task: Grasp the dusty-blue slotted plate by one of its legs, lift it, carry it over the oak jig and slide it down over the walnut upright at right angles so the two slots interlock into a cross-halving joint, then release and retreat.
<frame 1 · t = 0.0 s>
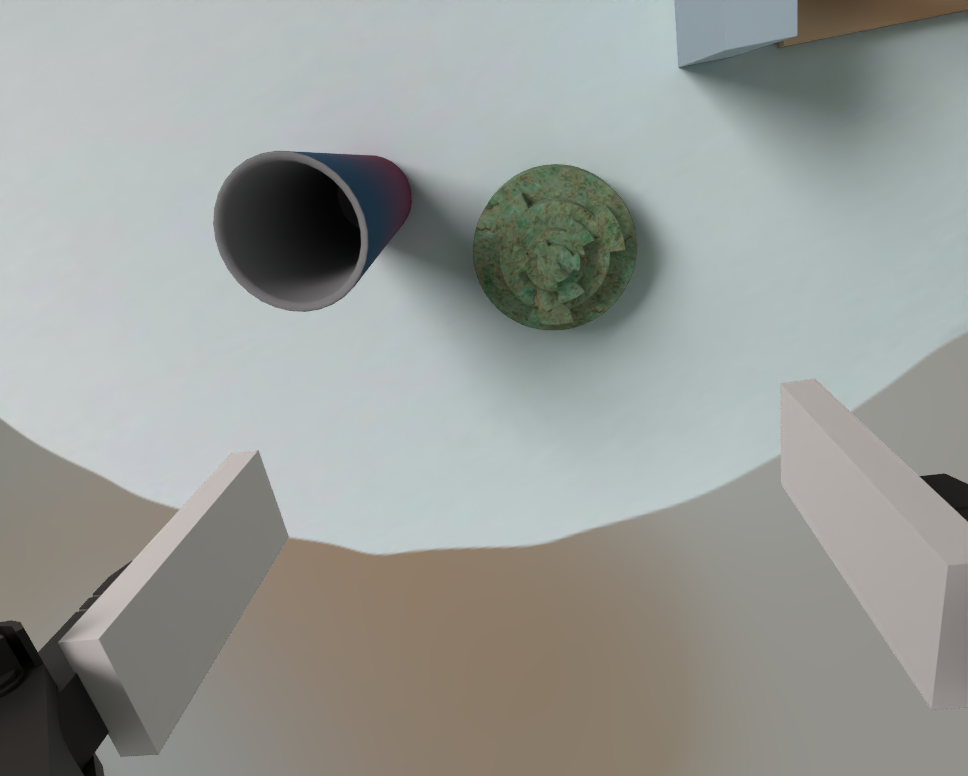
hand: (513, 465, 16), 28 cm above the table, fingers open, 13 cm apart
decorative artifact: (553, 244, 42), on the table
cup: (374, 196, 41), on the table
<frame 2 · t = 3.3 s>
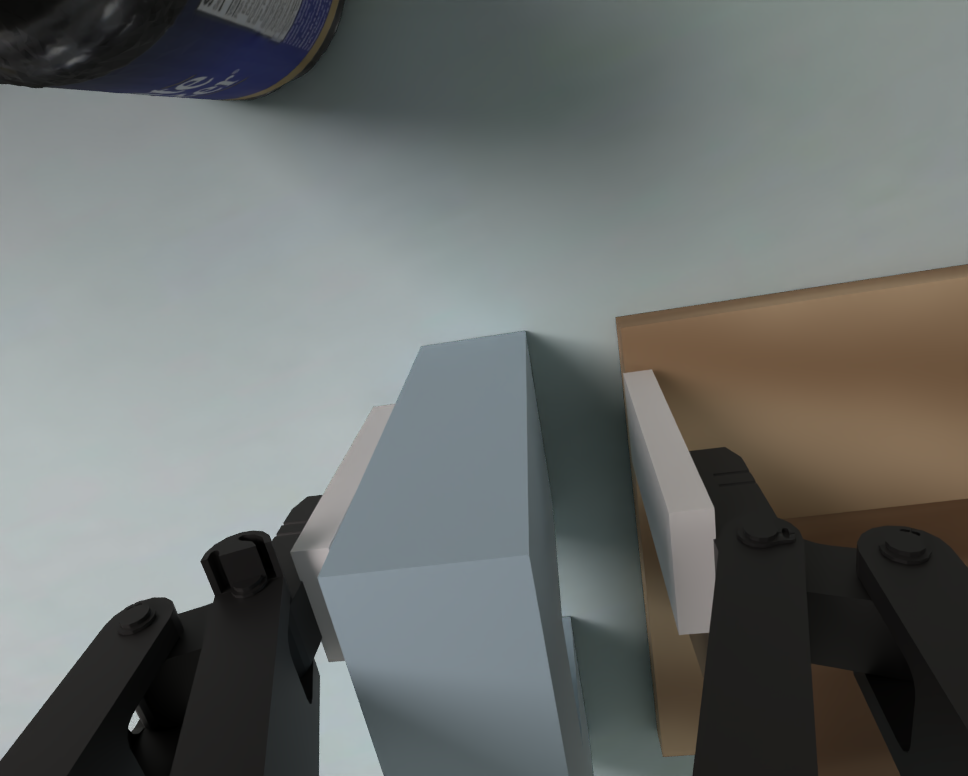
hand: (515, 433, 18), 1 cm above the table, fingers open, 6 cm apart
slotted plate: (516, 567, 21), on the table
jig: (903, 526, 20), on the table
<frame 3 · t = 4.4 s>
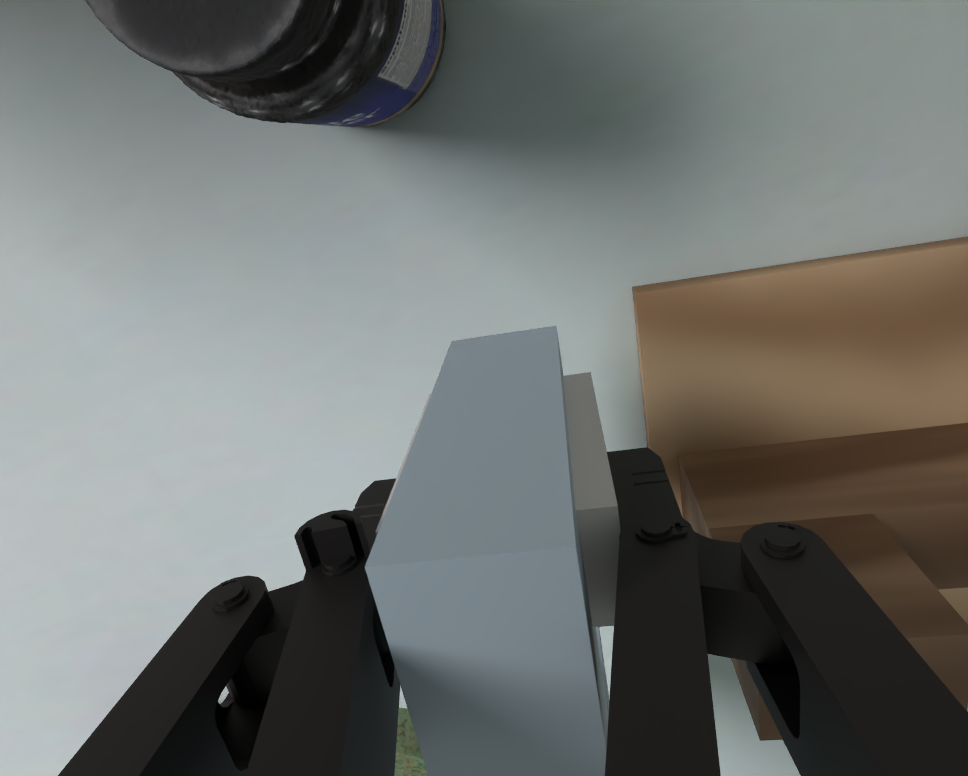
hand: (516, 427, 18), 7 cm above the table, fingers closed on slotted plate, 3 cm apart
decorative artifact: (401, 771, 34), on the table
slotted plate: (543, 562, 21), point 6 cm above the table, touching gripper
jig: (860, 456, 25), on the table
pill bottle: (359, 28, 21), on the table
when the fingers open (3 cm above the table, at t = 9.4 s): slotted plate drops 1 cm, resting on jig.
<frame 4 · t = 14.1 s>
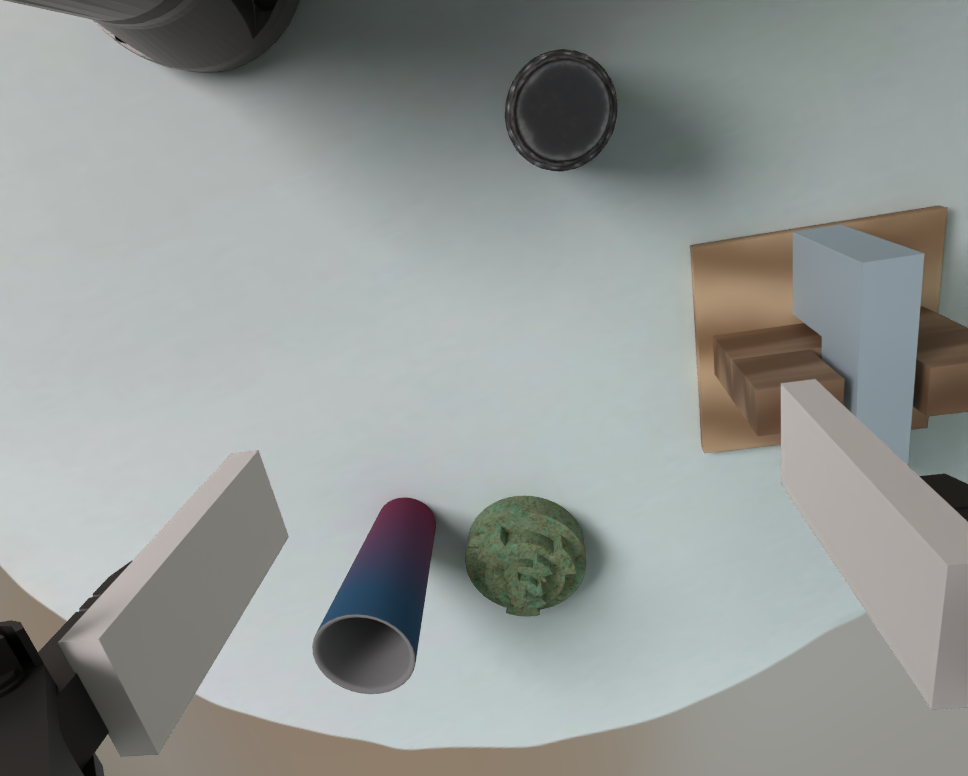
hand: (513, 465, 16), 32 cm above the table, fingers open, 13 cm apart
decorative artifact: (525, 542, 56), on the table
slotted plate: (814, 341, 45), point 1 cm above the table, touching jig
jig: (809, 337, 46), on the table
cup: (407, 520, 55), on the table
pill bottle: (556, 113, 42), on the table
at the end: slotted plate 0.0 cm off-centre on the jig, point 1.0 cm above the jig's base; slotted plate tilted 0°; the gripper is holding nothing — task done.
